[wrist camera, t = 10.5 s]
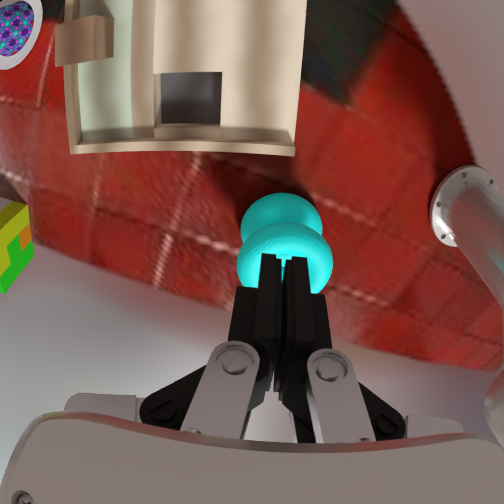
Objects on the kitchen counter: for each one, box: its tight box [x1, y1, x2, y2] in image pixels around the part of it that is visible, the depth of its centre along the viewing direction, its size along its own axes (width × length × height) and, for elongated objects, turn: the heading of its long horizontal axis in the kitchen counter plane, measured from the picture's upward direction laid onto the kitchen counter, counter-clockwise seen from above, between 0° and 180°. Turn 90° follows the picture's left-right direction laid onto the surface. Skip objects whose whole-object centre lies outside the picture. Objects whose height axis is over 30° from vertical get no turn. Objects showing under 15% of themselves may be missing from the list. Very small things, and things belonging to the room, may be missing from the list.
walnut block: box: [55, 15, 115, 67], centre depth 22 cm, size 4×4×4 cm
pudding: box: [0, 0, 42, 69], centre depth 21 cm, size 12×12×5 cm
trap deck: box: [64, 0, 307, 156], centre depth 24 cm, size 24×25×4 cm
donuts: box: [237, 193, 333, 293], centre depth 35 cm, size 10×10×10 cm
